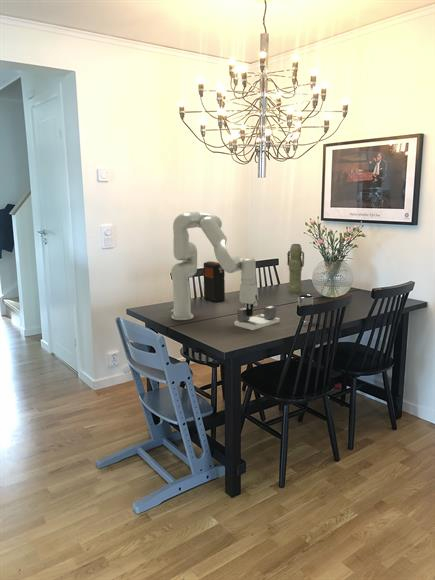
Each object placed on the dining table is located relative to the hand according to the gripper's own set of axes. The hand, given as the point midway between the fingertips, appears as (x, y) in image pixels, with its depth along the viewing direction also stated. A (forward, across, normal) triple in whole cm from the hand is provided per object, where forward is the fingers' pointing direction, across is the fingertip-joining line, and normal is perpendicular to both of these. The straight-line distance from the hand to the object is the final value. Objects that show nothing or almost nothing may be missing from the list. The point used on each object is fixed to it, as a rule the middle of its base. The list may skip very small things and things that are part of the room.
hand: (249, 315), depth 246 cm
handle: (+3, +3, +13) cm, 14 cm away
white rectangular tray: (+6, 0, +6) cm, 9 cm away
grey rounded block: (+3, -4, 0) cm, 5 cm away
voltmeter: (+5, -59, +28) cm, 66 cm away
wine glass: (+7, +17, +25) cm, 31 cm away
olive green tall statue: (+6, -31, +78) cm, 84 cm away
